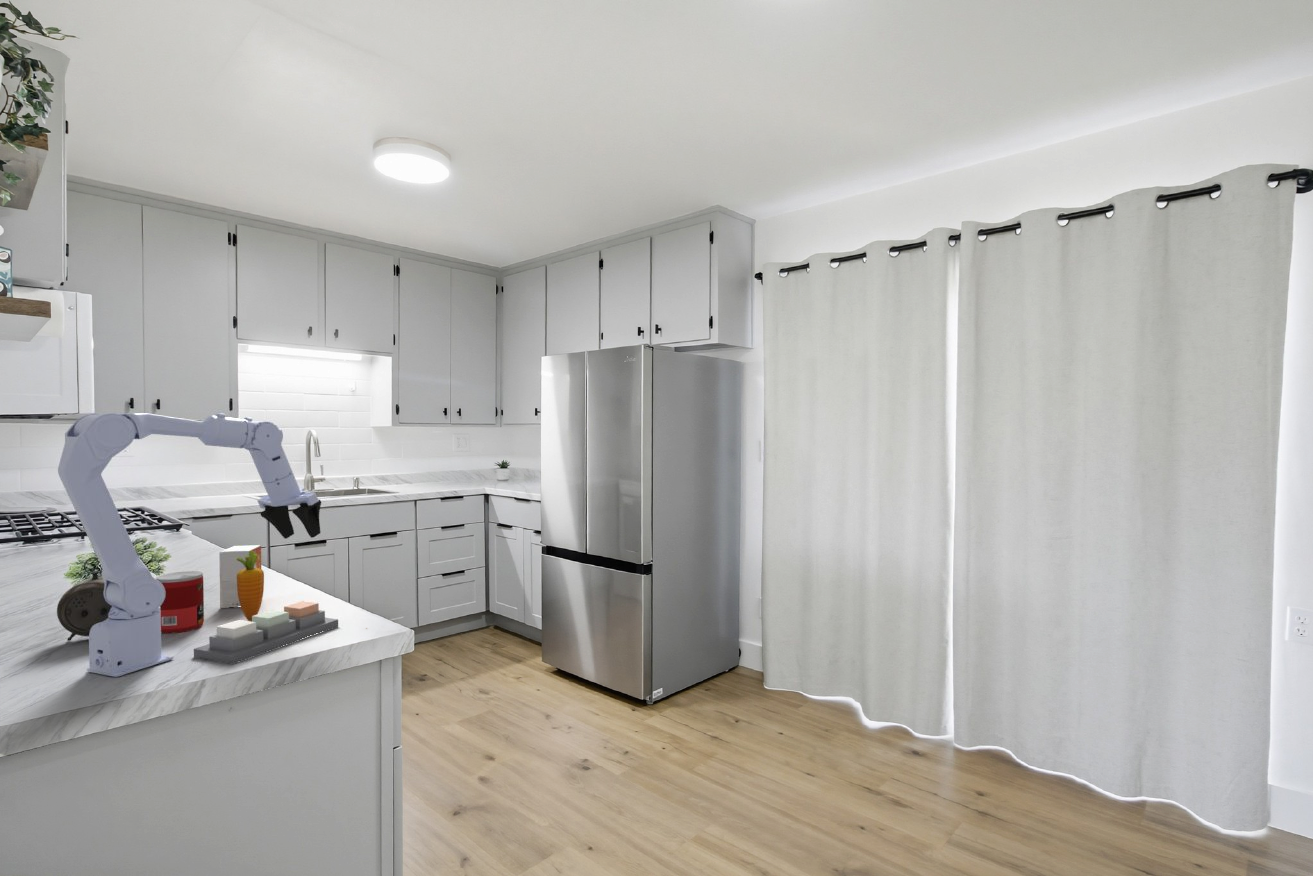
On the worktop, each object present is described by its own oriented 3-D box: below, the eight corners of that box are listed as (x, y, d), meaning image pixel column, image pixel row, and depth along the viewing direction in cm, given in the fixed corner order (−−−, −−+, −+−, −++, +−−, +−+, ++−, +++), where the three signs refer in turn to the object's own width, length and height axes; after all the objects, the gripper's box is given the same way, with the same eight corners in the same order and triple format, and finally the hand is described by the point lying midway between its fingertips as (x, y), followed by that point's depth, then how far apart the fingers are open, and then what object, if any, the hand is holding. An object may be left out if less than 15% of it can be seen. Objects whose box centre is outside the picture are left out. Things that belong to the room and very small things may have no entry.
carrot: (252, 626, 139) (250, 554, 139) (231, 624, 140) (230, 553, 140) (270, 619, 144) (269, 549, 144) (250, 618, 145) (249, 549, 145)
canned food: (208, 627, 139) (207, 574, 138) (161, 636, 133) (160, 581, 132) (198, 620, 144) (197, 569, 144) (152, 628, 138) (151, 575, 138)
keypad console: (233, 664, 117) (232, 644, 117) (193, 657, 121) (193, 637, 121) (338, 626, 139) (338, 609, 139) (302, 621, 142) (302, 605, 142)
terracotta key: (300, 618, 133) (300, 608, 133) (284, 616, 135) (283, 606, 135) (318, 612, 137) (318, 603, 137) (302, 610, 139) (302, 601, 139)
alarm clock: (134, 632, 136) (132, 552, 135) (125, 640, 131) (123, 557, 130) (65, 639, 131) (63, 557, 131) (53, 648, 126) (51, 562, 126)
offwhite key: (233, 640, 120) (233, 629, 120) (216, 637, 122) (216, 626, 122) (256, 632, 124) (256, 622, 124) (239, 630, 126) (239, 619, 126)
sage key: (268, 628, 127) (268, 618, 127) (252, 626, 128) (252, 616, 128) (289, 622, 131) (288, 612, 131) (272, 620, 133) (272, 610, 132)
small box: (250, 607, 154) (249, 550, 154) (219, 608, 153) (218, 551, 152) (262, 598, 162) (261, 544, 162) (233, 599, 160) (232, 545, 160)
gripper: (318, 466, 138) (342, 525, 142) (268, 471, 143) (292, 527, 147) (291, 481, 131) (317, 542, 136) (240, 485, 137) (266, 543, 141)
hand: (302, 535), depth 141 cm, fingers open, 7 cm apart
